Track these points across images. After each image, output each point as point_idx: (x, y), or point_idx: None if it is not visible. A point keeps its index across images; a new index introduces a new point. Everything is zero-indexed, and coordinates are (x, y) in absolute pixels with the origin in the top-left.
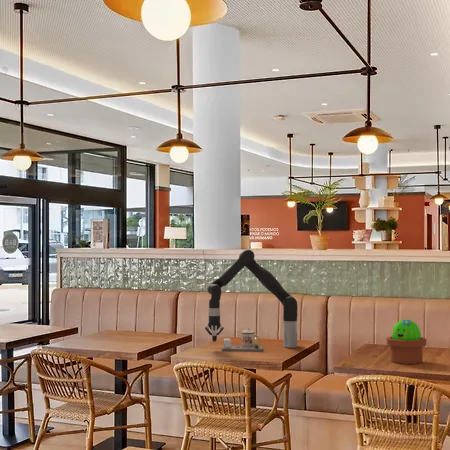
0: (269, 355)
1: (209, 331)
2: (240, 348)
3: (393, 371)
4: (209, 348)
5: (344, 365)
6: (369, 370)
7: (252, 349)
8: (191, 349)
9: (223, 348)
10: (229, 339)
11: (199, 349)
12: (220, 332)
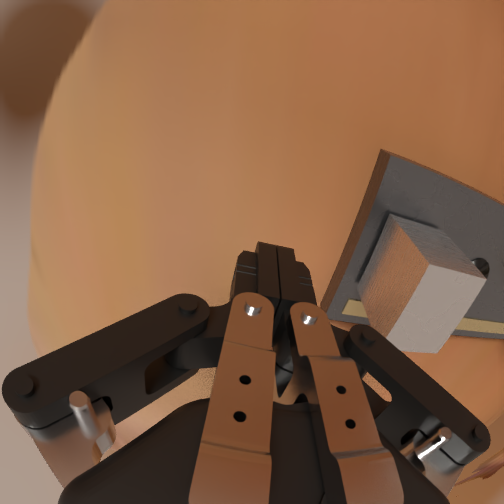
0: (475, 408)
1: (154, 398)
2: (460, 327)
3: (499, 464)
4: (214, 118)
5: (493, 456)
6: (485, 469)
7: (501, 336)
8: (40, 170)
9: (344, 313)
10: (447, 335)
11: (104, 176)
12: (377, 410)
